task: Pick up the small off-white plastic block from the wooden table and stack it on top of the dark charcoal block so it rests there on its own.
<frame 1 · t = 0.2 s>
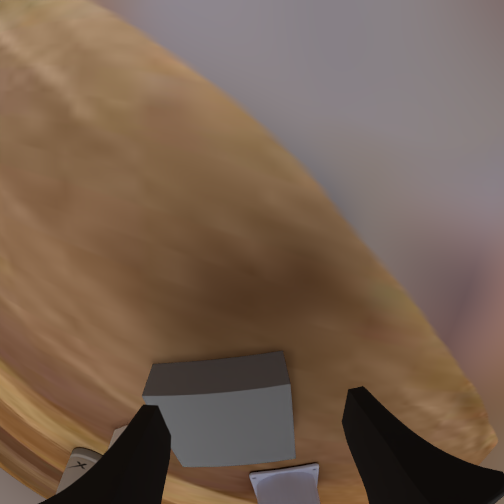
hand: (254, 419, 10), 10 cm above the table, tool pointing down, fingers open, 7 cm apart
travel mug: (93, 458, 26), on the table
base block: (227, 400, 23), on the table
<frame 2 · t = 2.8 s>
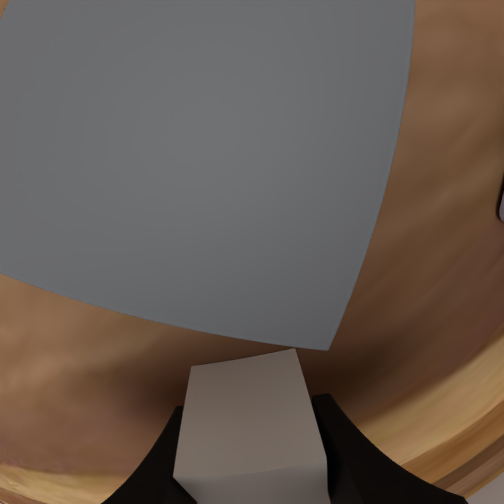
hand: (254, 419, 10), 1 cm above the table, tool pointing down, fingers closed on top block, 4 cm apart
top block: (252, 393, 11), on the table, touching gripper
base block: (180, 99, 8), on the table
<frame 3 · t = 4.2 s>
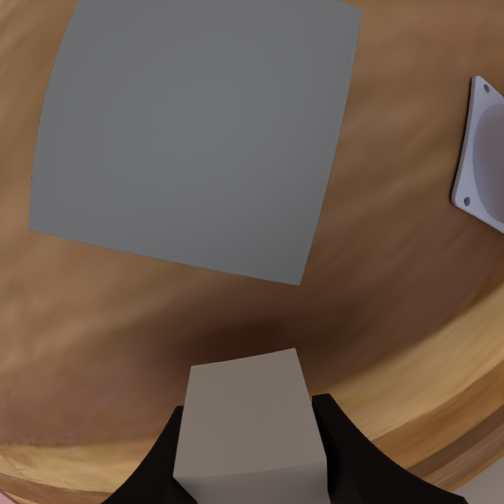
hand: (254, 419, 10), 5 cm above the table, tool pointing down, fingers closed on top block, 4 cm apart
top block: (252, 393, 11), point 4 cm above the table, touching gripper
base block: (194, 116, 11), on the table
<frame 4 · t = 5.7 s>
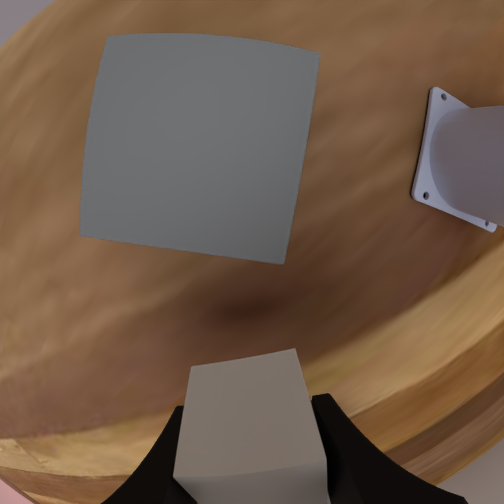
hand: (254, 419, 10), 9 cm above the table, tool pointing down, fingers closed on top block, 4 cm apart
top block: (252, 393, 11), point 7 cm above the table, touching gripper
base block: (200, 142, 15), on the table
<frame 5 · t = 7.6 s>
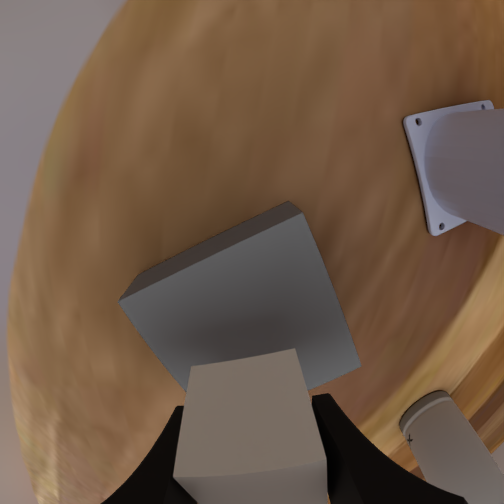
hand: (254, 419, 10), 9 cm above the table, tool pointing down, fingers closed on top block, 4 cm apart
top block: (252, 393, 11), point 7 cm above the table, touching gripper
travel mug: (422, 411, 24), on the table
base block: (246, 306, 18), on the table
when the fingers open (7 cm above the table, at t = 8.8 s): top block drops 2 cm, resting on base block.
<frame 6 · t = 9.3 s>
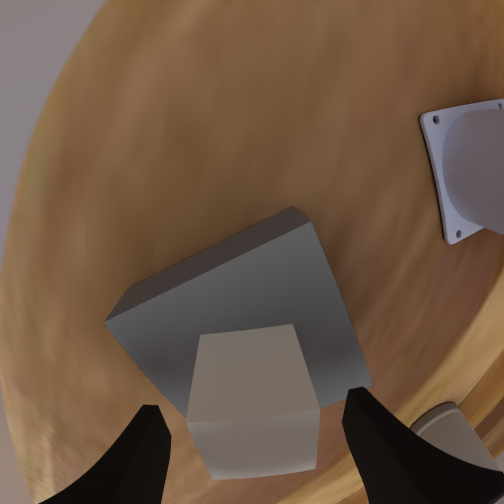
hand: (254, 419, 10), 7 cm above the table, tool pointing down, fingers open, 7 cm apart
top block: (251, 365, 13), point 4 cm above the table, touching base block
travel mug: (429, 422, 22), on the table
base block: (247, 321, 17), on the table, touching top block
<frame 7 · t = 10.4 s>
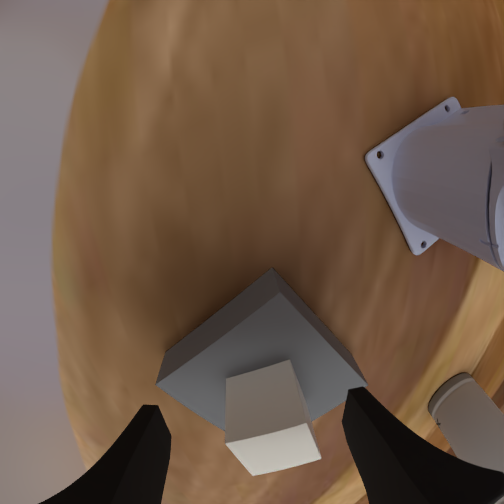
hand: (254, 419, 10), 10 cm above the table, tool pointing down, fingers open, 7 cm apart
top block: (267, 390, 17), point 4 cm above the table, touching base block
travel mug: (448, 393, 24), on the table
base block: (261, 354, 21), on the table, touching top block
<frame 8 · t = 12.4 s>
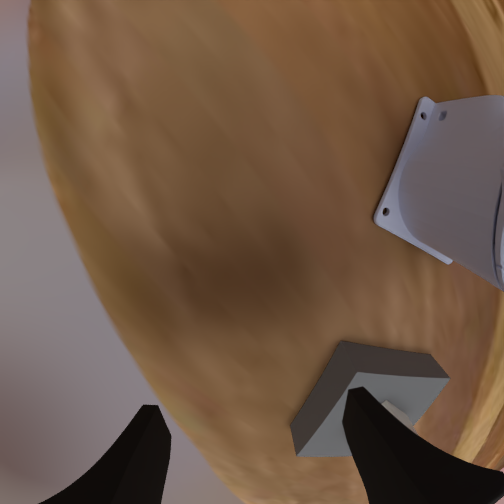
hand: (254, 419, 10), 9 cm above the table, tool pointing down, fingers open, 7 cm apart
top block: (377, 422, 19), point 4 cm above the table
base block: (361, 390, 23), on the table
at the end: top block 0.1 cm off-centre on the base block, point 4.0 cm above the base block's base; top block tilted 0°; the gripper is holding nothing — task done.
